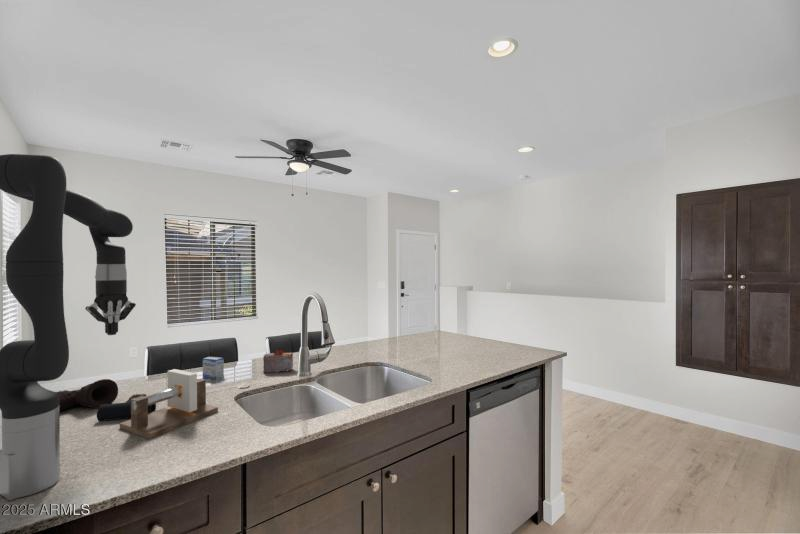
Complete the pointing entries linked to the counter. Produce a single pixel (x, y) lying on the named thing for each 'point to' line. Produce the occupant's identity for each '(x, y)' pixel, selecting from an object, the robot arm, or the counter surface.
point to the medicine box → (213, 367)
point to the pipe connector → (119, 409)
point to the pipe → (89, 395)
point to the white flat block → (183, 389)
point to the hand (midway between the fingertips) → (111, 334)
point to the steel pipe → (161, 396)
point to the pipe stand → (165, 415)
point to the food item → (278, 361)
